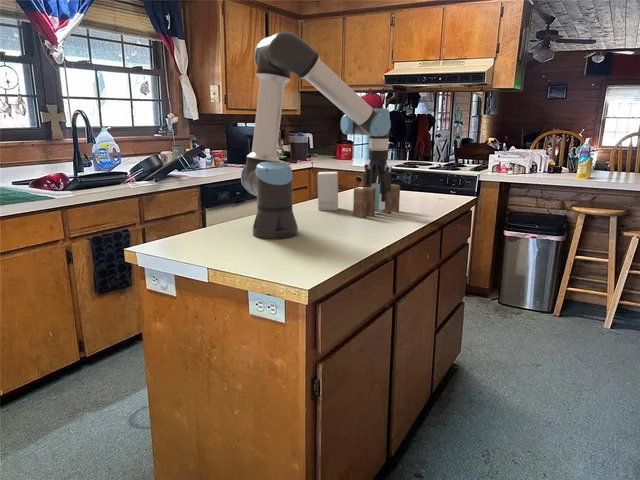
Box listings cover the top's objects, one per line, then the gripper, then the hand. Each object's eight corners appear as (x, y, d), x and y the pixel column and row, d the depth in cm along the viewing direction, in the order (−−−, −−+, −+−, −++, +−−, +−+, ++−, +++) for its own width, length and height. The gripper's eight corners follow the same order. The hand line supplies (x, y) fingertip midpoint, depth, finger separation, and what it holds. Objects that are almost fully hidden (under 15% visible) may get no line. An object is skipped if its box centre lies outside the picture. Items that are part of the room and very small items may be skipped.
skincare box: (338, 208, 204) (338, 171, 200) (337, 211, 198) (337, 173, 194) (318, 207, 205) (318, 171, 201) (317, 210, 199) (317, 173, 195)
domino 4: (395, 212, 195) (396, 185, 193) (386, 210, 199) (387, 184, 196) (398, 211, 197) (400, 185, 194) (390, 209, 201) (391, 183, 198)
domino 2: (370, 216, 187) (371, 188, 184) (362, 214, 191) (362, 187, 188) (374, 216, 189) (375, 188, 186) (366, 214, 192) (366, 186, 190)
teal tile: (379, 212, 190) (380, 185, 187) (370, 210, 194) (371, 183, 191) (383, 211, 191) (384, 184, 188) (374, 209, 195) (375, 183, 192)
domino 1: (361, 218, 185) (362, 190, 182) (353, 216, 188) (353, 188, 186) (365, 217, 186) (366, 189, 183) (357, 215, 190) (358, 187, 187)
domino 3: (387, 213, 193) (388, 186, 190) (378, 211, 196) (379, 185, 194) (391, 213, 194) (392, 186, 191) (382, 211, 198) (383, 184, 195)
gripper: (402, 150, 181) (399, 210, 187) (369, 147, 195) (368, 203, 201) (388, 151, 177) (386, 213, 183) (356, 148, 191) (354, 205, 197)
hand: (376, 208), depth 192 cm, fingers closed on teal tile, 5 cm apart
